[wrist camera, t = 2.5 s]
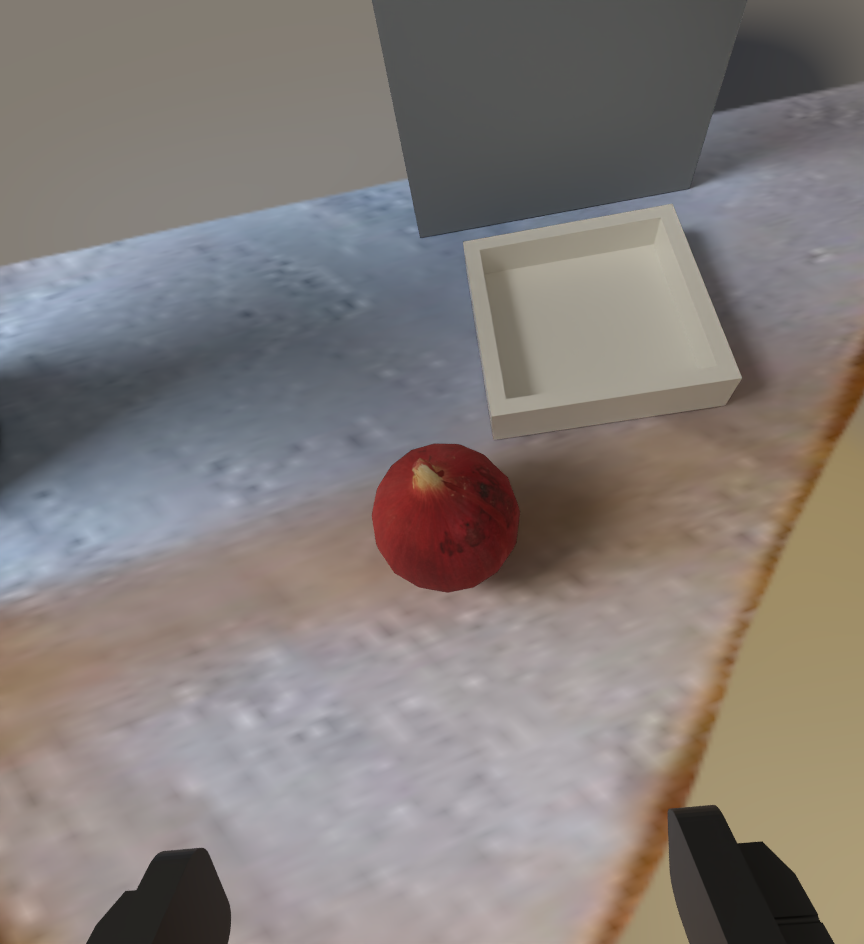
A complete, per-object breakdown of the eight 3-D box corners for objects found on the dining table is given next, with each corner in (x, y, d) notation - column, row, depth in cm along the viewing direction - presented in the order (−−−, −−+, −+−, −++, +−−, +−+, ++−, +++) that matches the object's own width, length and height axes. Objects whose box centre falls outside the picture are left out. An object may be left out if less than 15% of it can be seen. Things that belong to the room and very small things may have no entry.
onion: (524, 493, 27) (526, 403, 19) (512, 617, 24) (508, 567, 17) (405, 482, 28) (364, 393, 20) (382, 599, 25) (327, 545, 18)
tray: (725, 405, 27) (742, 378, 25) (493, 440, 28) (491, 416, 26) (662, 238, 32) (672, 203, 30) (466, 273, 33) (462, 241, 31)
